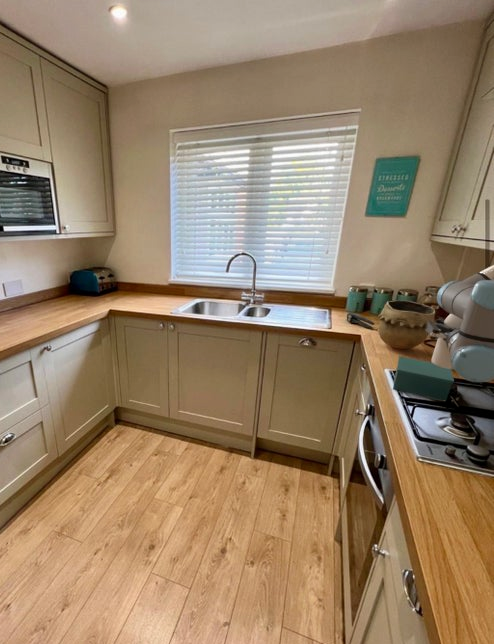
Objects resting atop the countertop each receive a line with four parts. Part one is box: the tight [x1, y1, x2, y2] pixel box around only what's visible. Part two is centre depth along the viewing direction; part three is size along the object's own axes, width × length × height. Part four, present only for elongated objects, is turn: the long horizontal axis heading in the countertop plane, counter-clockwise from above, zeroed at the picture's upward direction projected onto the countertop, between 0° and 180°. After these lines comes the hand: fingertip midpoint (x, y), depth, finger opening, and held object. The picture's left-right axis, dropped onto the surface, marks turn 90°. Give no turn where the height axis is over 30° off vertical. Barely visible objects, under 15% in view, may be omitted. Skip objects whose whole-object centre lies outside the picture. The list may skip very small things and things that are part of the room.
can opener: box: [346, 312, 375, 330], centre depth 181 cm, size 18×7×6 cm, turn 17°
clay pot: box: [377, 299, 436, 350], centre depth 143 cm, size 21×21×20 cm
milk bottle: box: [430, 313, 463, 371], centre depth 91 cm, size 8×8×20 cm
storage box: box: [392, 355, 455, 401], centre depth 109 cm, size 15×15×7 cm
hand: (457, 324), depth 94 cm, fingers closed on milk bottle, 8 cm apart
